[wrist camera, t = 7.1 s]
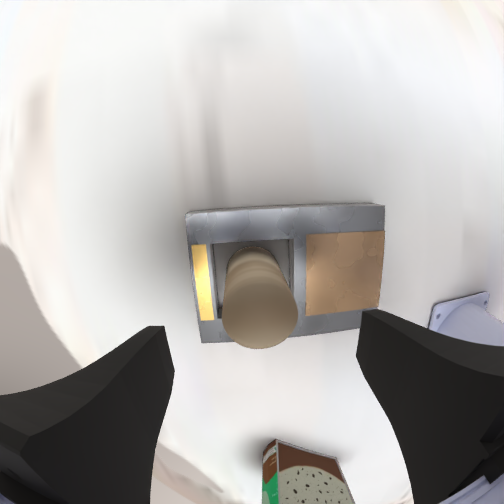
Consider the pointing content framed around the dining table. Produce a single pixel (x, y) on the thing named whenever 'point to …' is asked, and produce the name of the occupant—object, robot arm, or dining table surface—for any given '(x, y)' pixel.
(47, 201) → the dining table surface
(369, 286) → the plate
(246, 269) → the peg
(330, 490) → the food container
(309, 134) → the dining table surface
